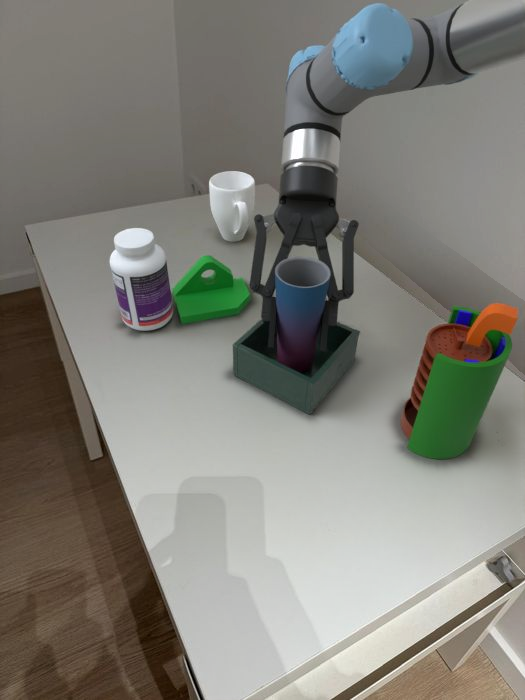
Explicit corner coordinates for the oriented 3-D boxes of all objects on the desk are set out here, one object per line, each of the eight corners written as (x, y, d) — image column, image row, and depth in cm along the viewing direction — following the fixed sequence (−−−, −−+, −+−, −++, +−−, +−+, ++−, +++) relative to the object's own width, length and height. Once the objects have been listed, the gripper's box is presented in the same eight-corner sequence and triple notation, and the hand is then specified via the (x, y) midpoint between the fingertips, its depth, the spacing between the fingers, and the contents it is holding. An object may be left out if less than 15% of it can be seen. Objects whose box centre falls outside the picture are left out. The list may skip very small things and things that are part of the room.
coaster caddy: (400, 393, 71) (436, 270, 57) (467, 404, 69) (520, 281, 56) (399, 453, 63) (440, 328, 50) (475, 466, 62) (538, 342, 48)
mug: (207, 228, 103) (204, 173, 95) (247, 223, 105) (247, 168, 97) (222, 260, 94) (220, 202, 87) (265, 253, 96) (267, 196, 89)
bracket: (181, 324, 81) (177, 288, 76) (173, 295, 86) (168, 260, 81) (254, 311, 83) (255, 276, 79) (242, 284, 89) (242, 250, 84)
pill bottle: (181, 306, 84) (172, 227, 74) (162, 337, 78) (150, 256, 68) (134, 298, 85) (119, 220, 75) (113, 329, 79) (94, 248, 70)
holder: (354, 361, 75) (360, 331, 71) (309, 415, 67) (313, 384, 63) (282, 328, 80) (283, 298, 76) (233, 375, 73) (232, 344, 69)
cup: (312, 342, 76) (322, 254, 66) (324, 374, 71) (337, 285, 61) (267, 346, 75) (270, 258, 65) (276, 379, 70) (281, 289, 60)
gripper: (376, 188, 71) (366, 356, 70) (240, 181, 72) (227, 346, 71) (387, 166, 63) (375, 354, 62) (234, 158, 64) (220, 343, 63)
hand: (296, 349), depth 67 cm, fingers closed on cup, 6 cm apart
